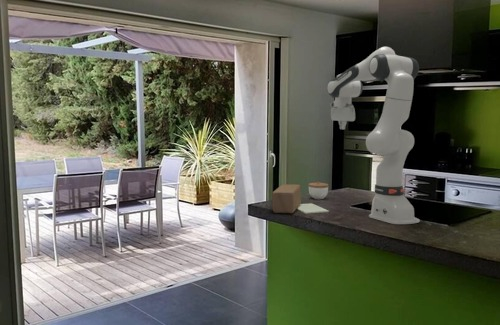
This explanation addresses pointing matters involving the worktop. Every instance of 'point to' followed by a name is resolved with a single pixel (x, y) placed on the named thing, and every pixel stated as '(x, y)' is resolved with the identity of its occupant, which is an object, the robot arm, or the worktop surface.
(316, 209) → the mat
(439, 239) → the worktop surface
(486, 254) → the worktop surface
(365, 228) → the worktop surface
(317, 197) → the lidded jar
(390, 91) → the robot arm
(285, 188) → the wooden block
